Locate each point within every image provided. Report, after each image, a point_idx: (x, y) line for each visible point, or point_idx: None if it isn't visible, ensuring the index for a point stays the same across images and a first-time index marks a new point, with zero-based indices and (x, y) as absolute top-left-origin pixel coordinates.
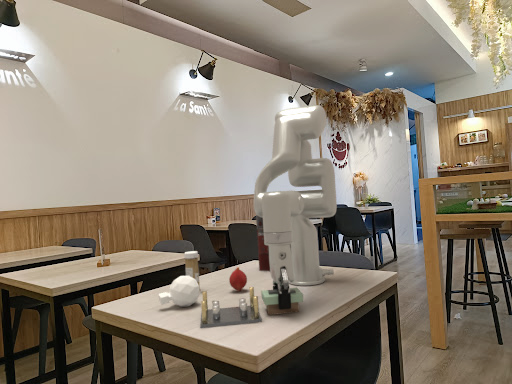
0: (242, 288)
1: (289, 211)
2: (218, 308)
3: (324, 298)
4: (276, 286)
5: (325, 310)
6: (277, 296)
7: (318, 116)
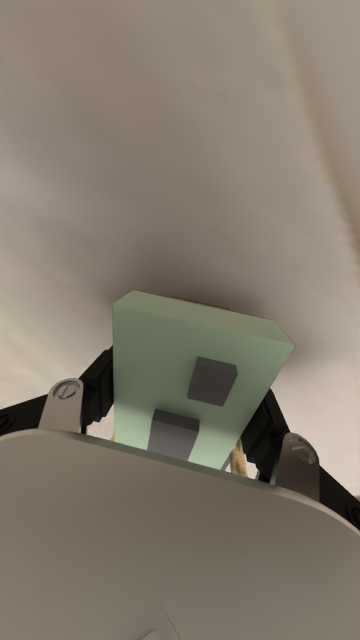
0: None
1: None
2: None
3: (68, 49)
4: (99, 410)
5: (292, 181)
6: (235, 441)
7: None
